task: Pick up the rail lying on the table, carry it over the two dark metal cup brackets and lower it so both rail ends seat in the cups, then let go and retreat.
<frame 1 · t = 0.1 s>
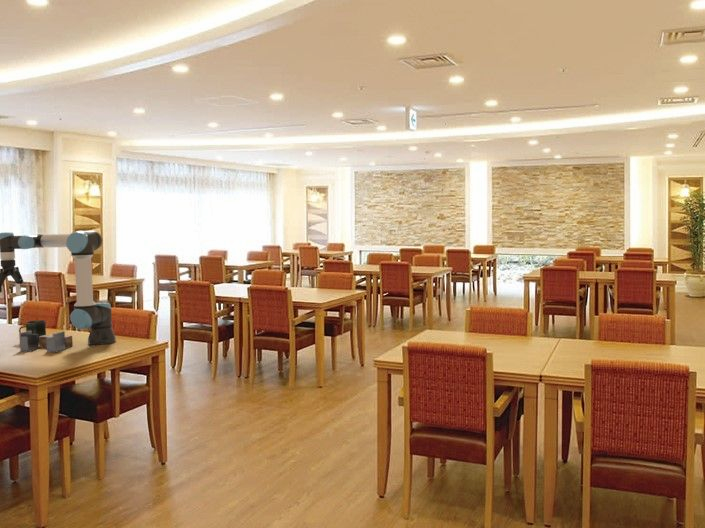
hand: (10, 296, 396), 28 cm above the table, fingers open, 13 cm apart
bracket a: (55, 350, 378), on the table
mug: (33, 342, 405), on the table
bracket b: (30, 349, 382), on the table
rail: (56, 346, 391), on the table
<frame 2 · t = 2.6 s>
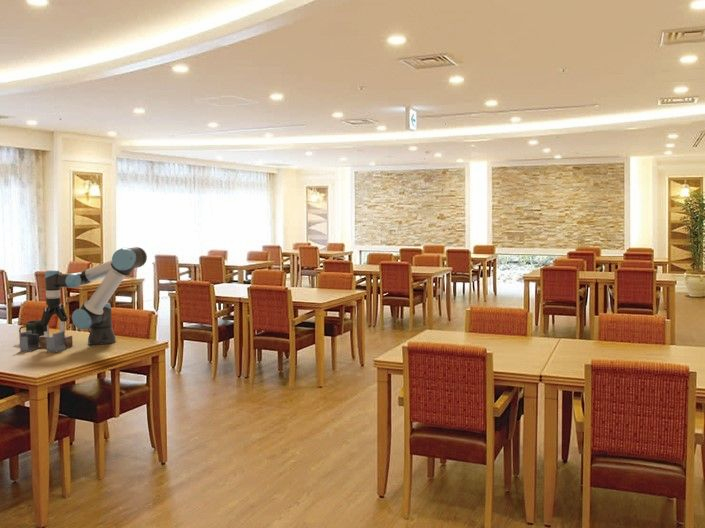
hand: (54, 335, 391), 6 cm above the table, fingers open, 13 cm apart
nothing on the table moved.
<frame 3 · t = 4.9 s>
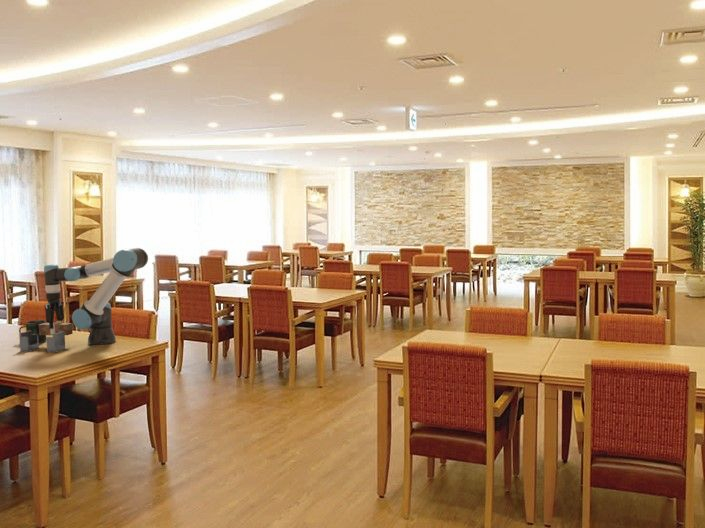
hand: (56, 333, 390), 7 cm above the table, fingers closed on rail, 5 cm apart
rail: (56, 334, 390), point 7 cm above the table, touching gripper
everything else where it was.
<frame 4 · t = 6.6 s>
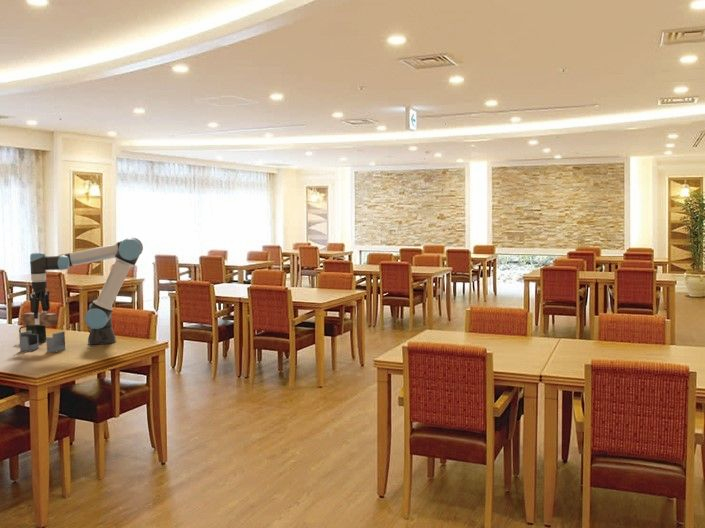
hand: (41, 323, 379), 15 cm above the table, fingers closed on rail, 5 cm apart
rail: (40, 324, 379), point 14 cm above the table, touching gripper
everything else where it was.
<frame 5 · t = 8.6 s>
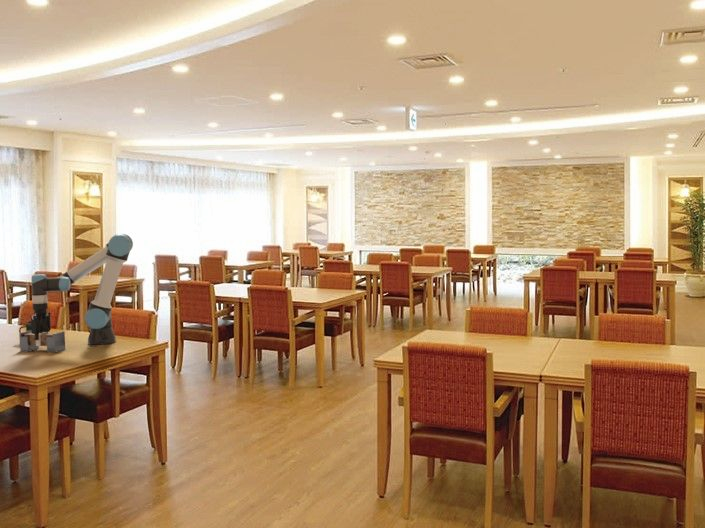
hand: (42, 344, 380), 3 cm above the table, fingers closed on rail, 5 cm apart
rail: (41, 344, 380), point 3 cm above the table, touching bracket a, bracket b, gripper
everything else where it was.
when the fingers open (3 cm above the table, at t = 8.6 s): rail stays where it is, resting on bracket a, bracket b.
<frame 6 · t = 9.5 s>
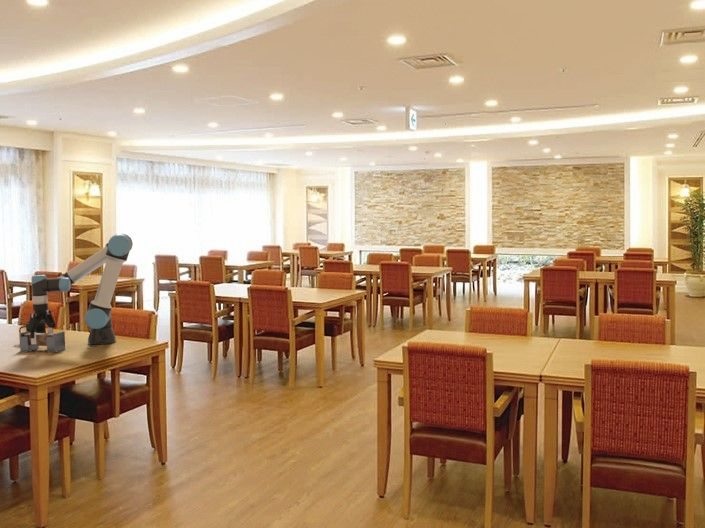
hand: (42, 341, 380), 5 cm above the table, fingers open, 13 cm apart
rail: (41, 344, 380), point 3 cm above the table, touching bracket a, bracket b
everything else where it was.
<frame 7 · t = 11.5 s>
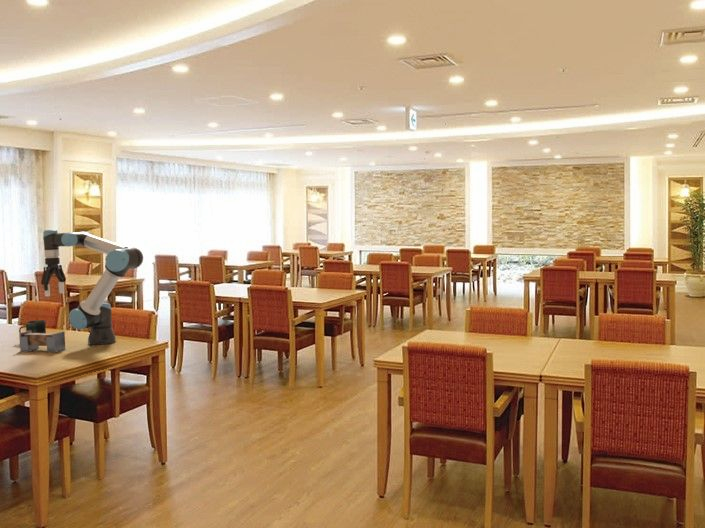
hand: (54, 294, 391), 29 cm above the table, fingers open, 13 cm apart
nothing on the table moved.
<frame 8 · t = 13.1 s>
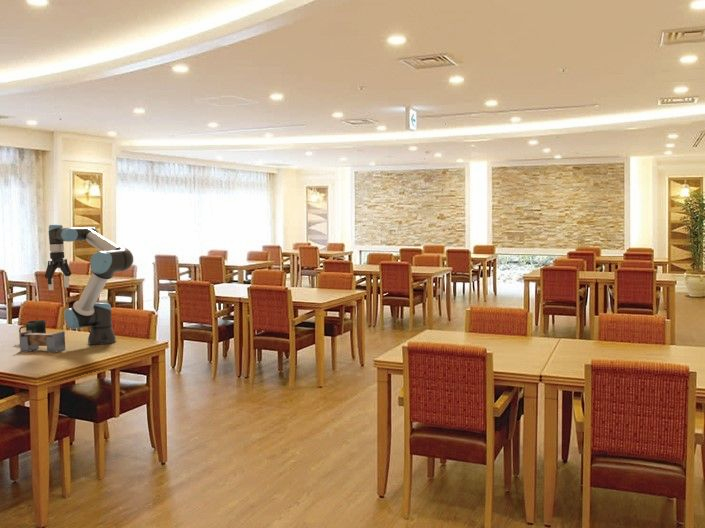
hand: (59, 288, 397), 32 cm above the table, fingers open, 13 cm apart
nothing on the table moved.
at the end: rail 0.5 cm from the target spot, point 3.0 cm above the table; rail tilted 0°; the gripper is holding nothing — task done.
